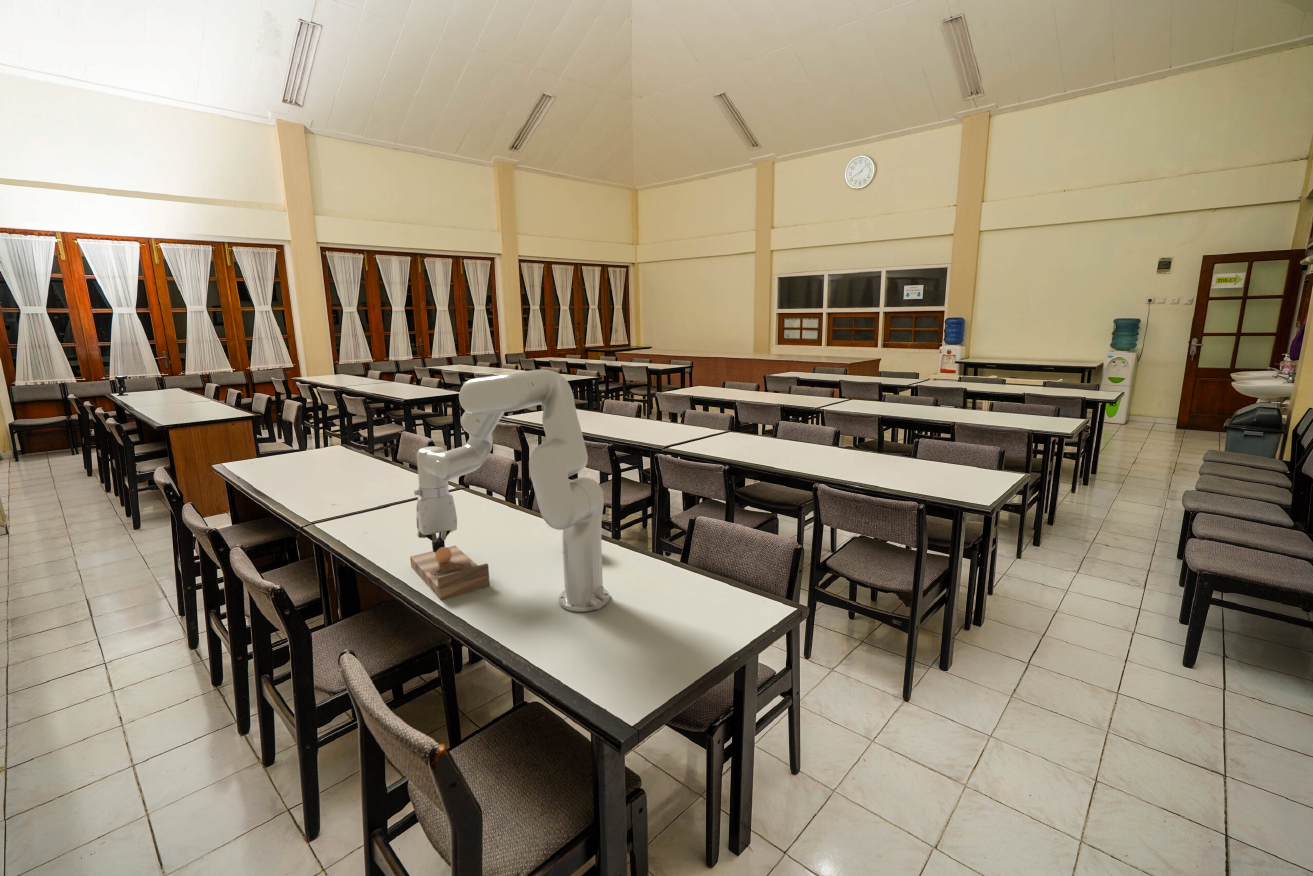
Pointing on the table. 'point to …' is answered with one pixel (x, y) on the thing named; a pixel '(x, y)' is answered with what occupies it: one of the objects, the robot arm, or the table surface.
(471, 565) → the brown piece
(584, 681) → the table surface
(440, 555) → the ball
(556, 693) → the table surface
